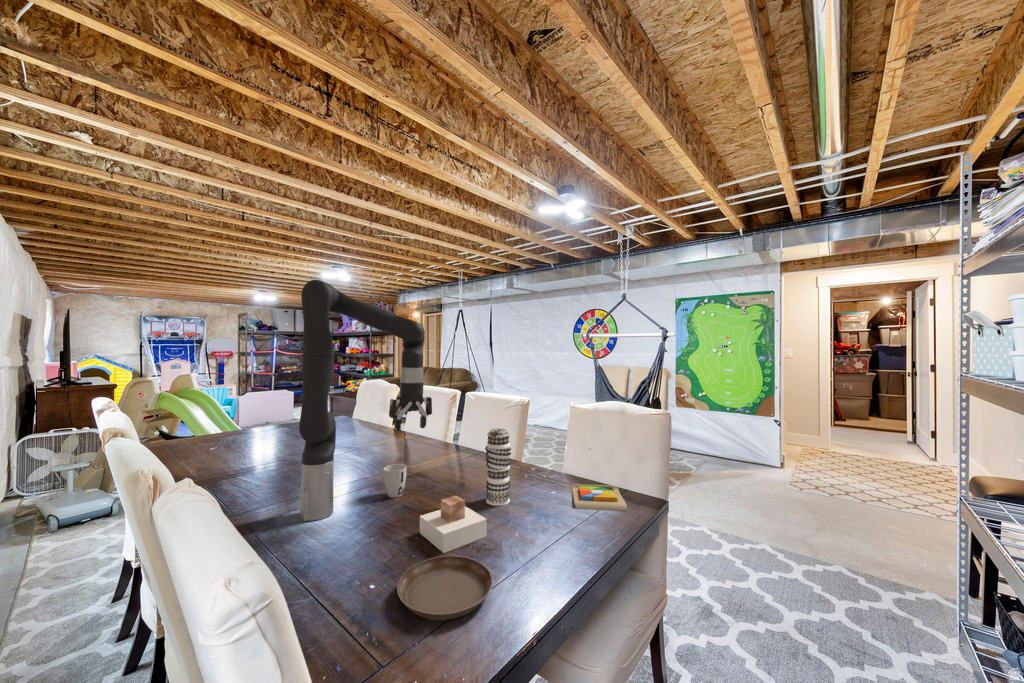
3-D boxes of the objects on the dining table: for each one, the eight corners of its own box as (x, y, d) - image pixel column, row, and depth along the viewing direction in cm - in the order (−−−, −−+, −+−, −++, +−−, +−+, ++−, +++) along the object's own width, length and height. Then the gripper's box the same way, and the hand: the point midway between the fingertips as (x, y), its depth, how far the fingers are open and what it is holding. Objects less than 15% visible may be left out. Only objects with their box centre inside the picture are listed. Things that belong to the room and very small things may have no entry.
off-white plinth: (443, 553, 102) (443, 534, 102) (419, 533, 113) (419, 515, 113) (486, 536, 111) (486, 519, 111) (460, 519, 122) (460, 503, 122)
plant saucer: (494, 567, 96) (494, 554, 96) (490, 629, 75) (490, 612, 75) (410, 568, 96) (411, 554, 96) (383, 630, 75) (384, 613, 75)
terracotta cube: (449, 523, 108) (449, 505, 108) (440, 517, 112) (440, 499, 112) (464, 518, 112) (464, 500, 112) (455, 512, 115) (455, 495, 115)
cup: (402, 499, 137) (402, 471, 137) (380, 499, 137) (380, 471, 137) (409, 490, 145) (409, 464, 145) (387, 490, 145) (388, 463, 145)
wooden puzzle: (617, 491, 147) (617, 482, 147) (627, 512, 128) (627, 502, 128) (571, 489, 149) (571, 480, 149) (574, 510, 130) (574, 499, 130)
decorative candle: (487, 507, 131) (488, 433, 131) (482, 497, 140) (483, 427, 140) (513, 504, 133) (514, 432, 133) (507, 494, 142) (507, 426, 142)
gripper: (395, 382, 122) (394, 434, 122) (436, 381, 131) (435, 428, 131) (387, 380, 128) (385, 429, 128) (426, 379, 137) (425, 425, 137)
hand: (410, 429), depth 129 cm, fingers open, 8 cm apart
